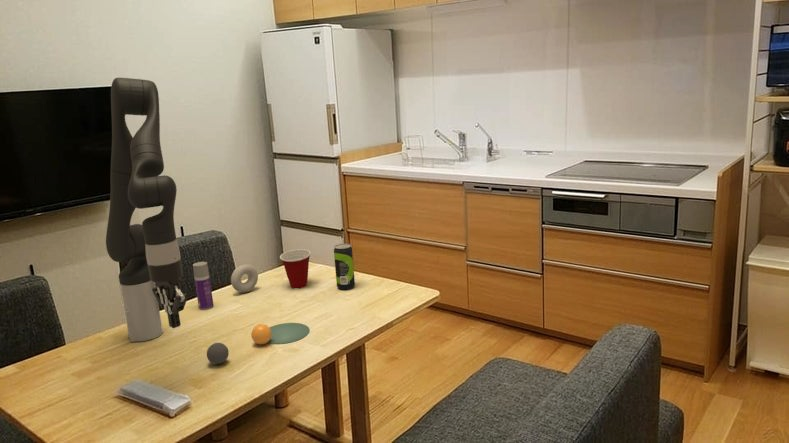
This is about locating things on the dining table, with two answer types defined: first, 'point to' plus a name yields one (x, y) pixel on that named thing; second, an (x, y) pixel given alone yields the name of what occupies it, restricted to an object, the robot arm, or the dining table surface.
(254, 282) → the donut
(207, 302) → the container
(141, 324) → the robot arm
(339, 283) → the beverage can
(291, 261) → the plastic cup
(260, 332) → the orange ball
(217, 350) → the dark grey ball
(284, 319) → the dining table surface
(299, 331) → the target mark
